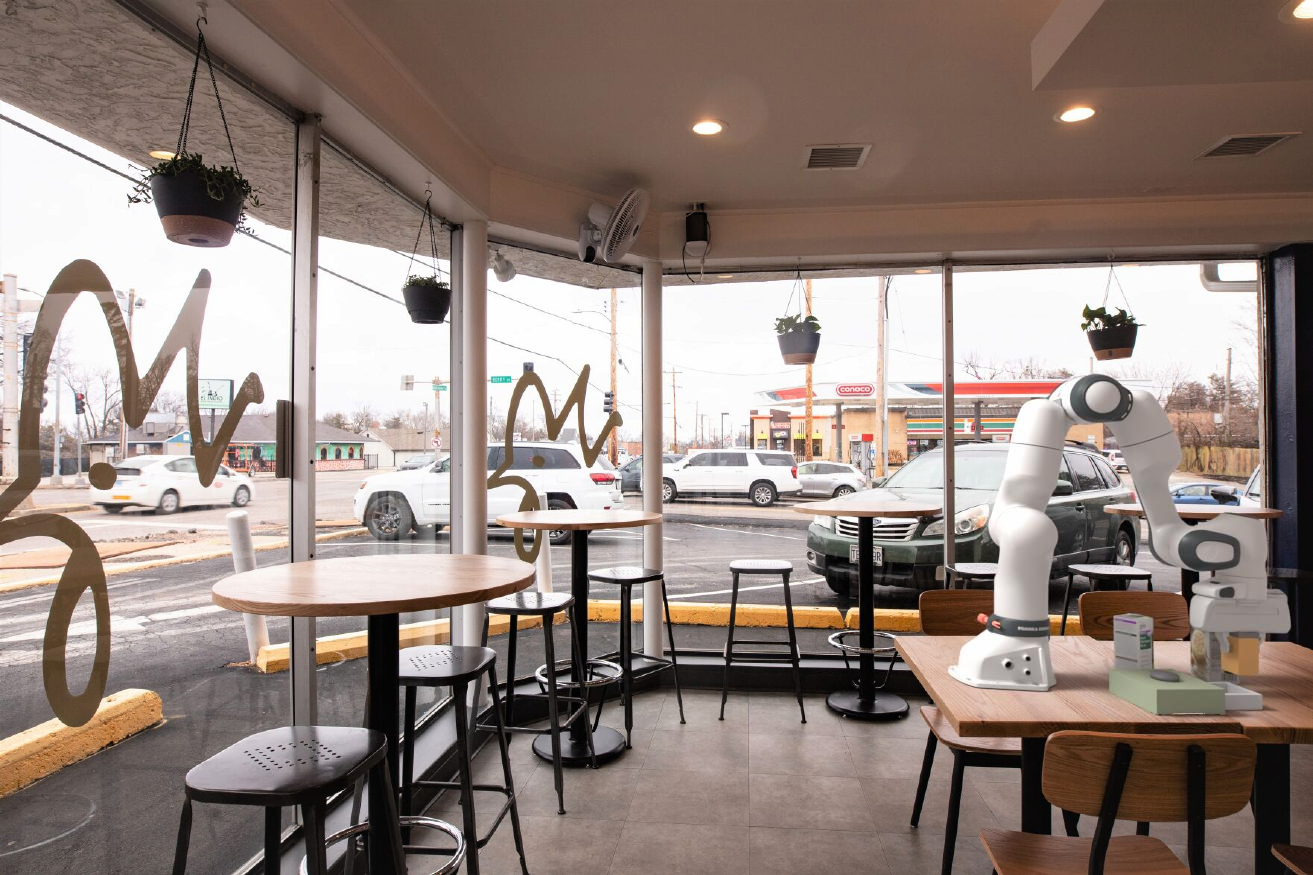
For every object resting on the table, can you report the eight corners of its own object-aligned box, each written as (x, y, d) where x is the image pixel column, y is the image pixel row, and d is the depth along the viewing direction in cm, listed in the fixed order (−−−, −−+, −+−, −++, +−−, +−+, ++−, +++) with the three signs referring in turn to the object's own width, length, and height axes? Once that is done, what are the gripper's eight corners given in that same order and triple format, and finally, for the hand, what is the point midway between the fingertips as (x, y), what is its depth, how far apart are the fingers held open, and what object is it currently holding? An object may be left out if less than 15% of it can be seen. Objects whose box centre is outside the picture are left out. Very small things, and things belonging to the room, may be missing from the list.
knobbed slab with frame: (1156, 715, 145) (1156, 684, 145) (1109, 692, 159) (1109, 664, 159) (1274, 714, 147) (1274, 683, 147) (1217, 691, 161) (1217, 664, 161)
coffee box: (1188, 671, 176) (1188, 603, 177) (1219, 673, 175) (1219, 605, 175) (1209, 683, 167) (1208, 611, 168) (1241, 685, 166) (1241, 613, 166)
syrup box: (1140, 684, 165) (1139, 619, 165) (1113, 677, 170) (1113, 614, 171) (1154, 681, 168) (1154, 617, 168) (1128, 674, 173) (1127, 612, 173)
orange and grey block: (1238, 675, 158) (1238, 632, 158) (1220, 668, 162) (1221, 627, 162) (1259, 675, 158) (1259, 632, 158) (1240, 669, 162) (1241, 627, 163)
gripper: (1273, 586, 164) (1272, 649, 164) (1184, 584, 163) (1183, 648, 163) (1299, 592, 158) (1299, 657, 158) (1207, 590, 157) (1206, 655, 156)
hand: (1239, 652), depth 160 cm, fingers closed on orange and grey block, 4 cm apart
